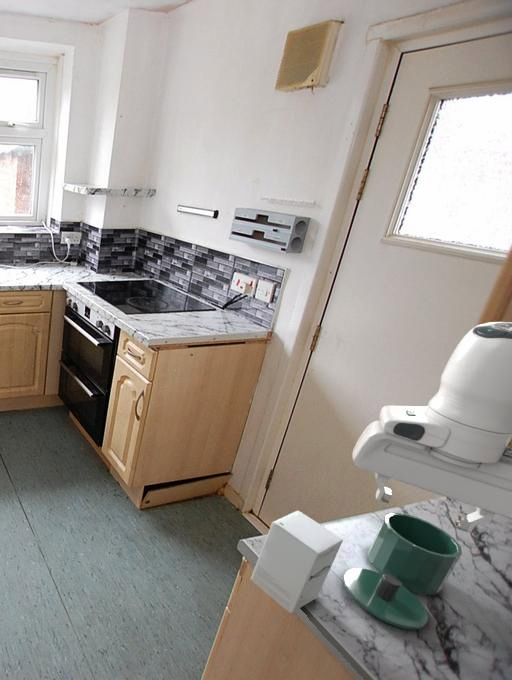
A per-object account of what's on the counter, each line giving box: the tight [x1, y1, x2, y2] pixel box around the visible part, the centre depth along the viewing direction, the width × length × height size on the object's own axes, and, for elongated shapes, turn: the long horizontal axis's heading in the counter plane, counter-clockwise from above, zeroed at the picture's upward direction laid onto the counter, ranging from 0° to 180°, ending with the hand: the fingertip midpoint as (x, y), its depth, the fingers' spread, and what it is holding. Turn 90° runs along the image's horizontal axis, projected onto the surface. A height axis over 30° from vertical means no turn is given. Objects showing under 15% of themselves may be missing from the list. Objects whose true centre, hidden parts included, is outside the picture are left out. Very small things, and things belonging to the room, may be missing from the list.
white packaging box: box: [250, 510, 344, 615], centre depth 74 cm, size 7×7×13 cm
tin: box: [367, 512, 463, 596], centre depth 81 cm, size 10×10×8 cm
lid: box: [342, 567, 429, 630], centre depth 75 cm, size 11×11×5 cm
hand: (420, 513), depth 69 cm, fingers open, 8 cm apart
